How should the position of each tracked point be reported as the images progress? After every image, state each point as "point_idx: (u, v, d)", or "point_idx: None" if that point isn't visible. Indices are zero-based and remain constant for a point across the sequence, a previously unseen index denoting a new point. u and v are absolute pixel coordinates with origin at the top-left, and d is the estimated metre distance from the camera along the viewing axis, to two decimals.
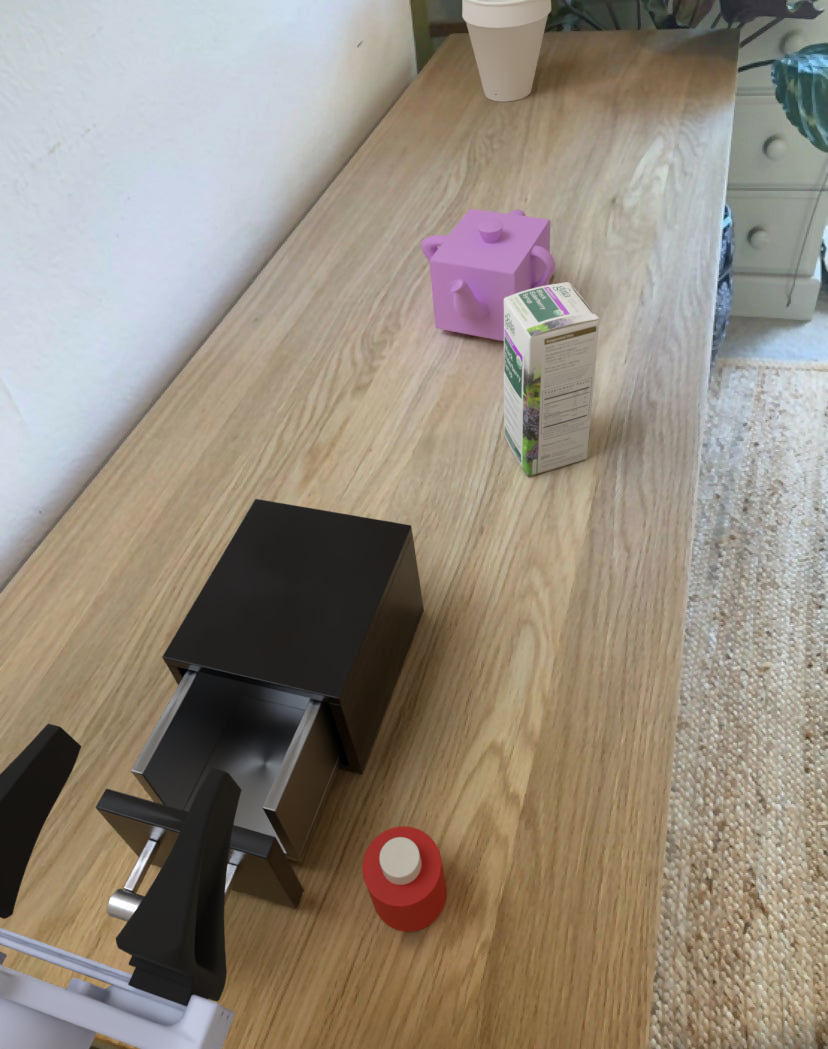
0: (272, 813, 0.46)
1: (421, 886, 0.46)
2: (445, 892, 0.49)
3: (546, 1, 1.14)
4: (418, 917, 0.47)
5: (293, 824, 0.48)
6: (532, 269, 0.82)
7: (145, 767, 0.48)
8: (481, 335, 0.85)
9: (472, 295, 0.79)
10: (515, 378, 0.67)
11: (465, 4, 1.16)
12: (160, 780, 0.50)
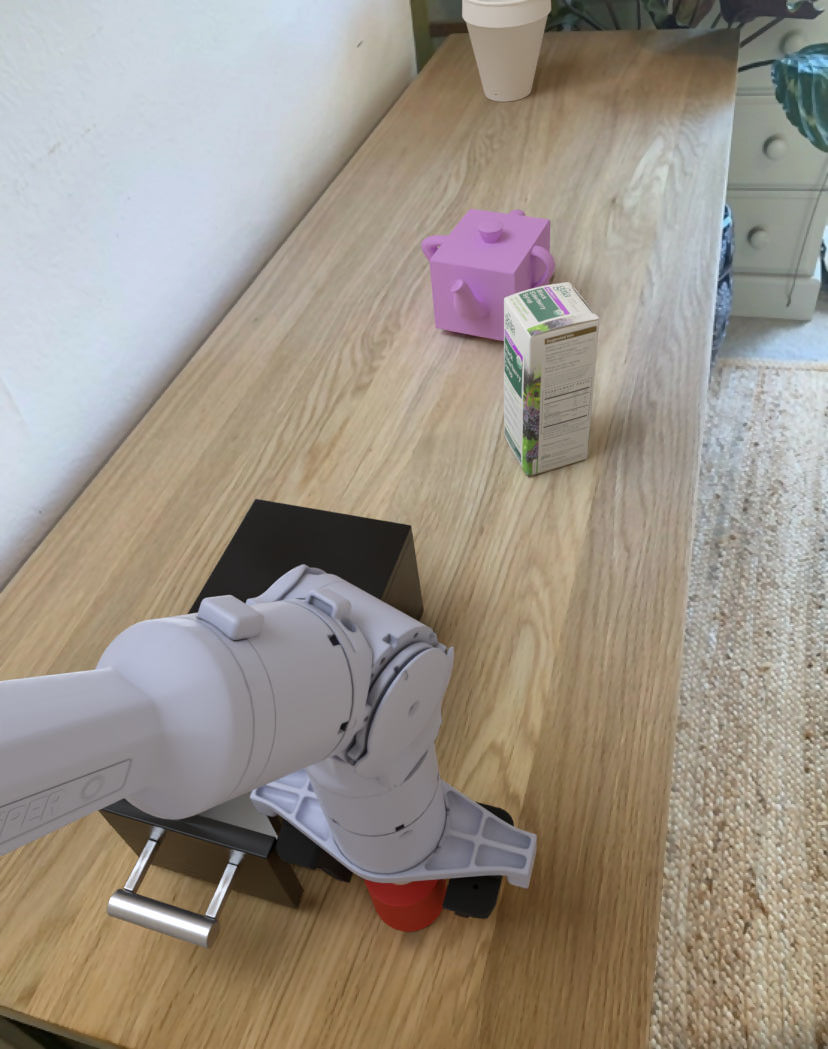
0: None
1: (421, 886, 0.46)
2: (445, 892, 0.49)
3: (546, 1, 1.14)
4: (418, 917, 0.47)
5: None
6: (532, 269, 0.82)
7: None
8: (481, 335, 0.85)
9: (472, 295, 0.79)
10: (515, 378, 0.67)
11: (465, 4, 1.16)
12: None
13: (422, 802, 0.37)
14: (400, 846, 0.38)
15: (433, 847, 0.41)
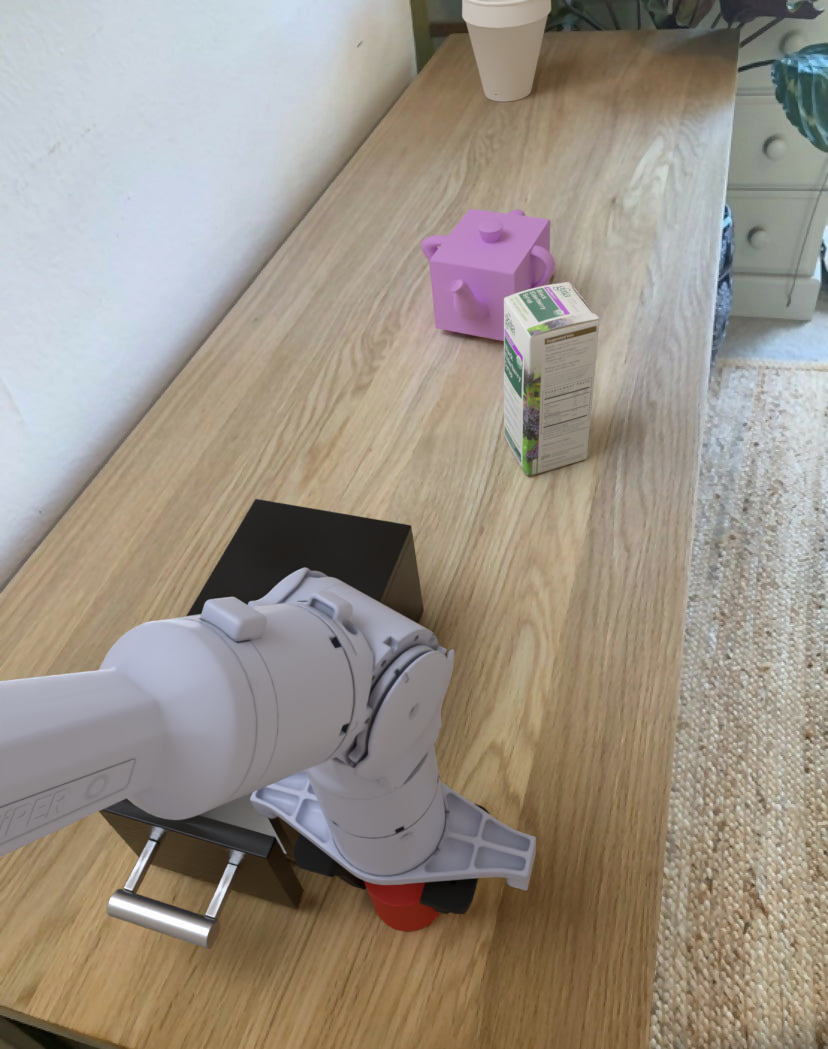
0: None
1: (420, 886, 0.46)
2: None
3: (546, 1, 1.14)
4: (417, 917, 0.47)
5: None
6: (531, 269, 0.82)
7: None
8: (481, 335, 0.85)
9: (472, 295, 0.79)
10: (515, 378, 0.67)
11: (465, 4, 1.16)
12: None
13: (422, 804, 0.37)
14: (400, 848, 0.39)
15: (433, 849, 0.41)
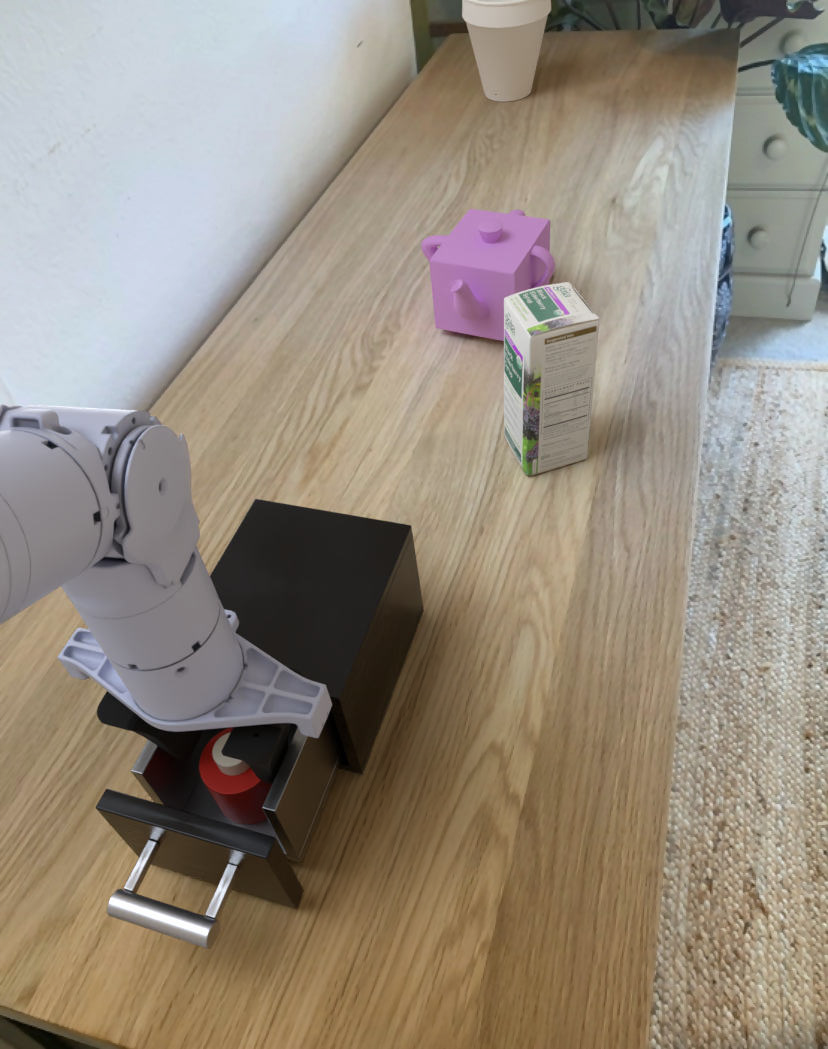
0: (272, 813, 0.46)
1: (251, 776, 0.49)
2: None
3: (546, 1, 1.14)
4: (252, 808, 0.50)
5: (293, 824, 0.48)
6: (531, 269, 0.82)
7: (145, 768, 0.48)
8: (481, 335, 0.85)
9: (472, 295, 0.79)
10: (515, 378, 0.67)
11: (465, 4, 1.16)
12: (160, 780, 0.50)
13: (209, 615, 0.39)
14: (179, 686, 0.39)
15: (224, 696, 0.42)
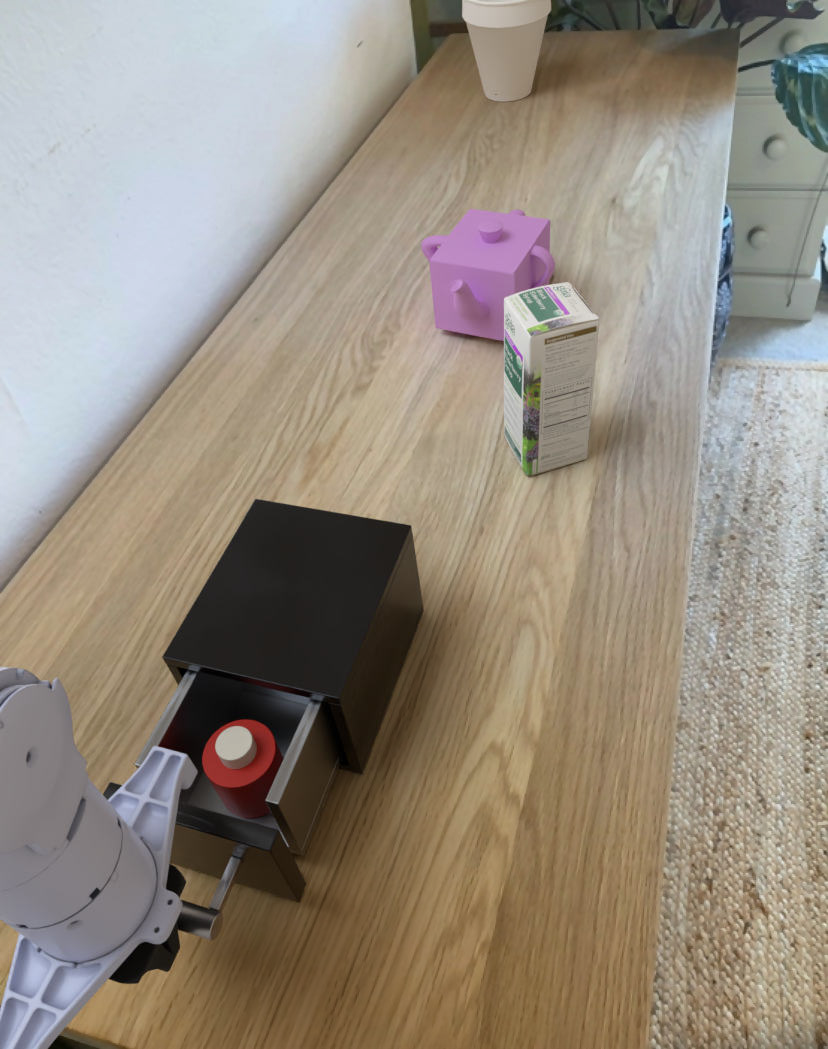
0: (275, 806, 0.46)
1: (254, 770, 0.50)
2: None
3: (546, 1, 1.14)
4: (255, 801, 0.51)
5: (296, 817, 0.49)
6: (531, 269, 0.82)
7: None
8: (481, 335, 0.85)
9: (472, 295, 0.79)
10: (515, 378, 0.67)
11: (465, 4, 1.16)
12: None
13: (108, 855, 0.34)
14: None
15: (39, 946, 0.37)
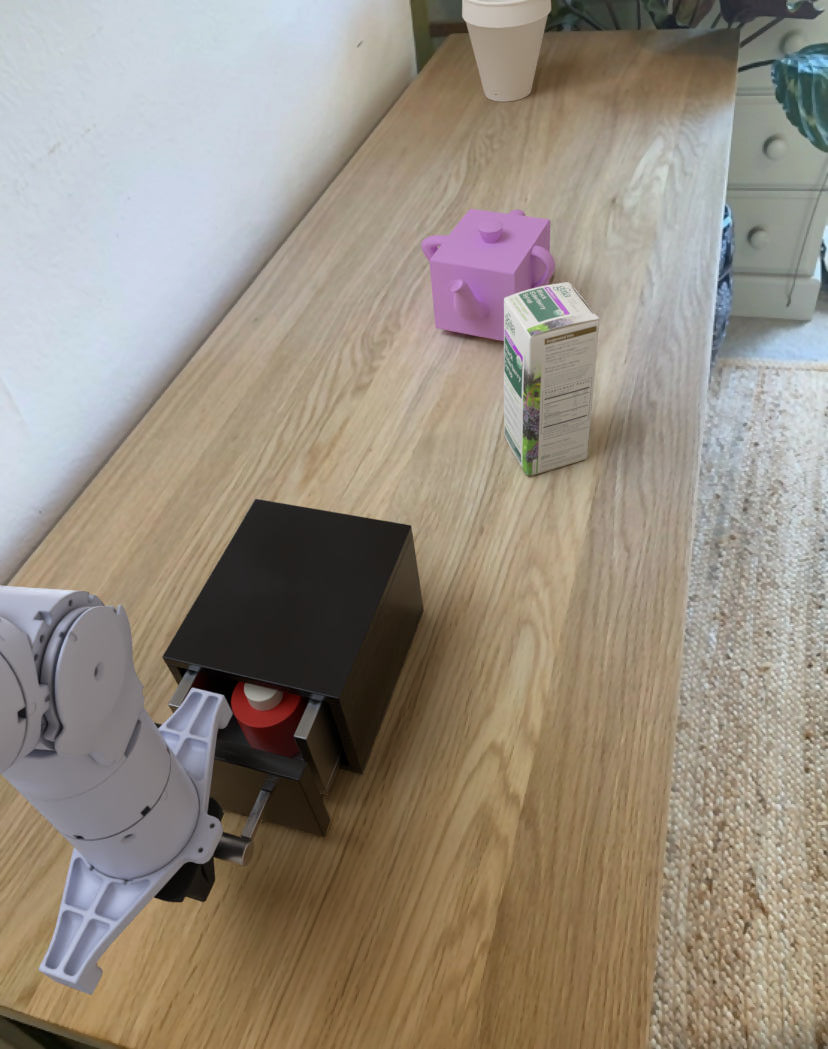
0: (303, 742, 0.49)
1: (281, 711, 0.52)
2: None
3: (546, 1, 1.14)
4: (281, 743, 0.53)
5: (321, 755, 0.51)
6: (532, 269, 0.82)
7: (182, 701, 0.51)
8: (481, 335, 0.85)
9: (472, 295, 0.79)
10: (515, 378, 0.67)
11: (465, 4, 1.16)
12: None
13: (158, 776, 0.37)
14: None
15: (91, 864, 0.40)
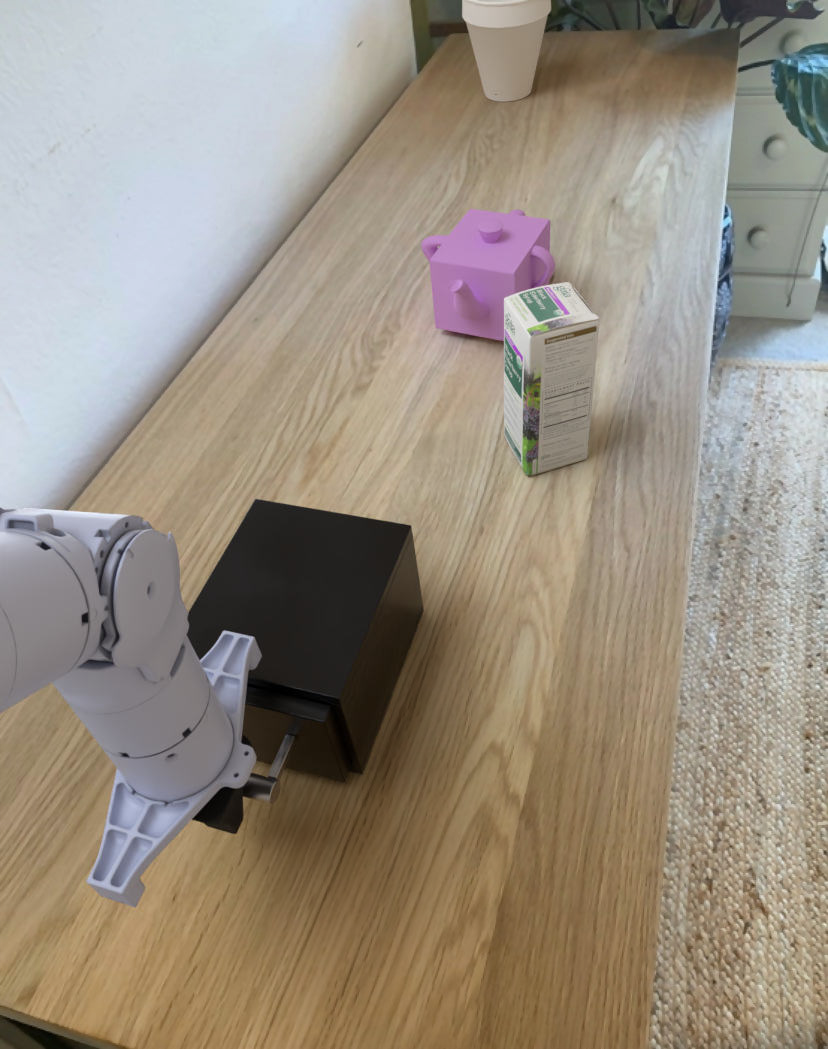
0: None
1: None
2: None
3: (546, 1, 1.14)
4: None
5: None
6: (532, 269, 0.82)
7: None
8: (481, 335, 0.85)
9: (472, 295, 0.79)
10: (515, 378, 0.67)
11: (465, 4, 1.16)
12: None
13: (199, 701, 0.39)
14: None
15: (133, 788, 0.42)
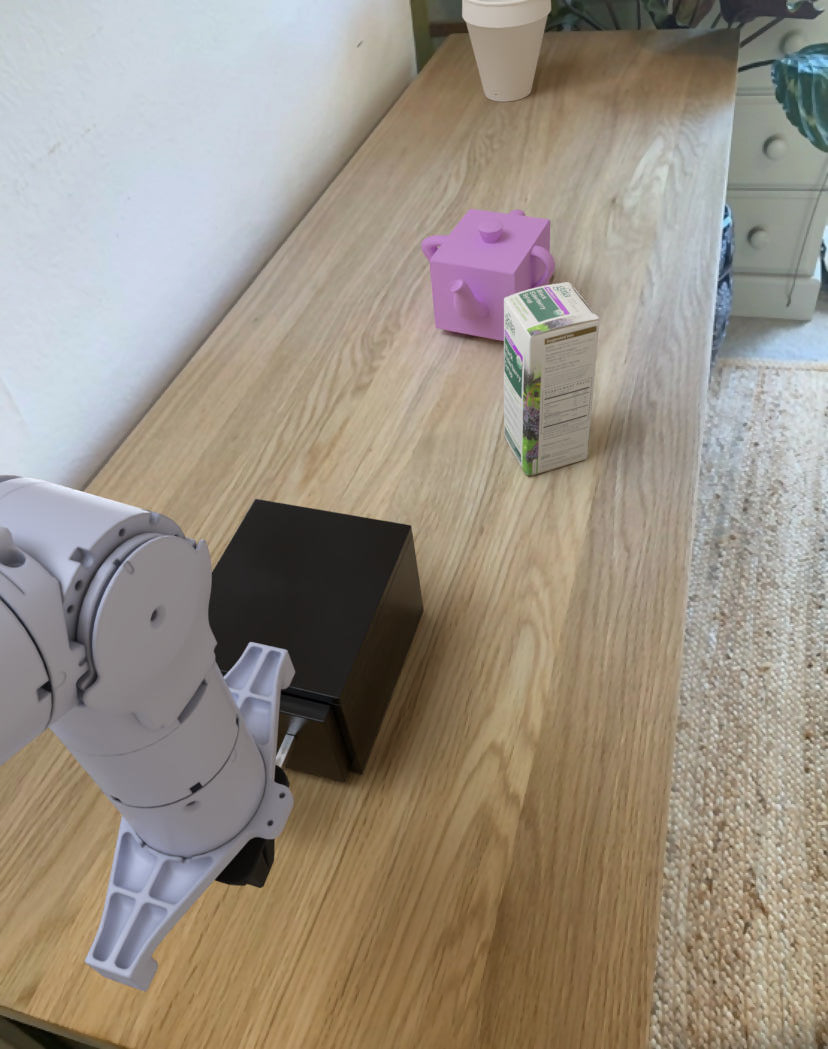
0: None
1: None
2: None
3: (546, 1, 1.14)
4: None
5: None
6: (531, 269, 0.82)
7: None
8: (481, 335, 0.85)
9: (472, 295, 0.79)
10: (515, 378, 0.67)
11: (465, 4, 1.16)
12: None
13: (218, 751, 0.30)
14: None
15: (143, 839, 0.34)
